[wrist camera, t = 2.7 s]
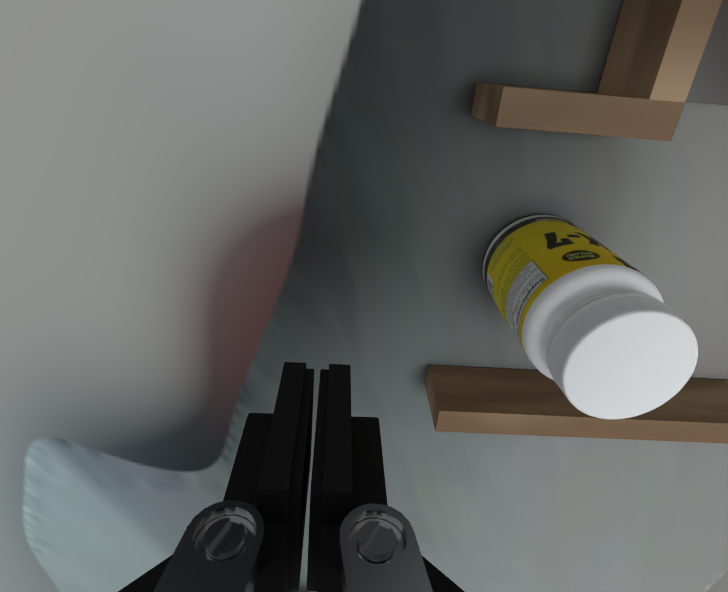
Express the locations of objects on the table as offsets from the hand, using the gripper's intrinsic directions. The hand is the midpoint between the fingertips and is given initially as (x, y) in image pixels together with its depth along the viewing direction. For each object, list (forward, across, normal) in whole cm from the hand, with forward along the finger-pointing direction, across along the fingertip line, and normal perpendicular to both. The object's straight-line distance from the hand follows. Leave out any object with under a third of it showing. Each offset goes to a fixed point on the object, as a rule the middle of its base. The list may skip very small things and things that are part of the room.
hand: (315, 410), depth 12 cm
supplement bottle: (+10, -9, -1) cm, 14 cm away
